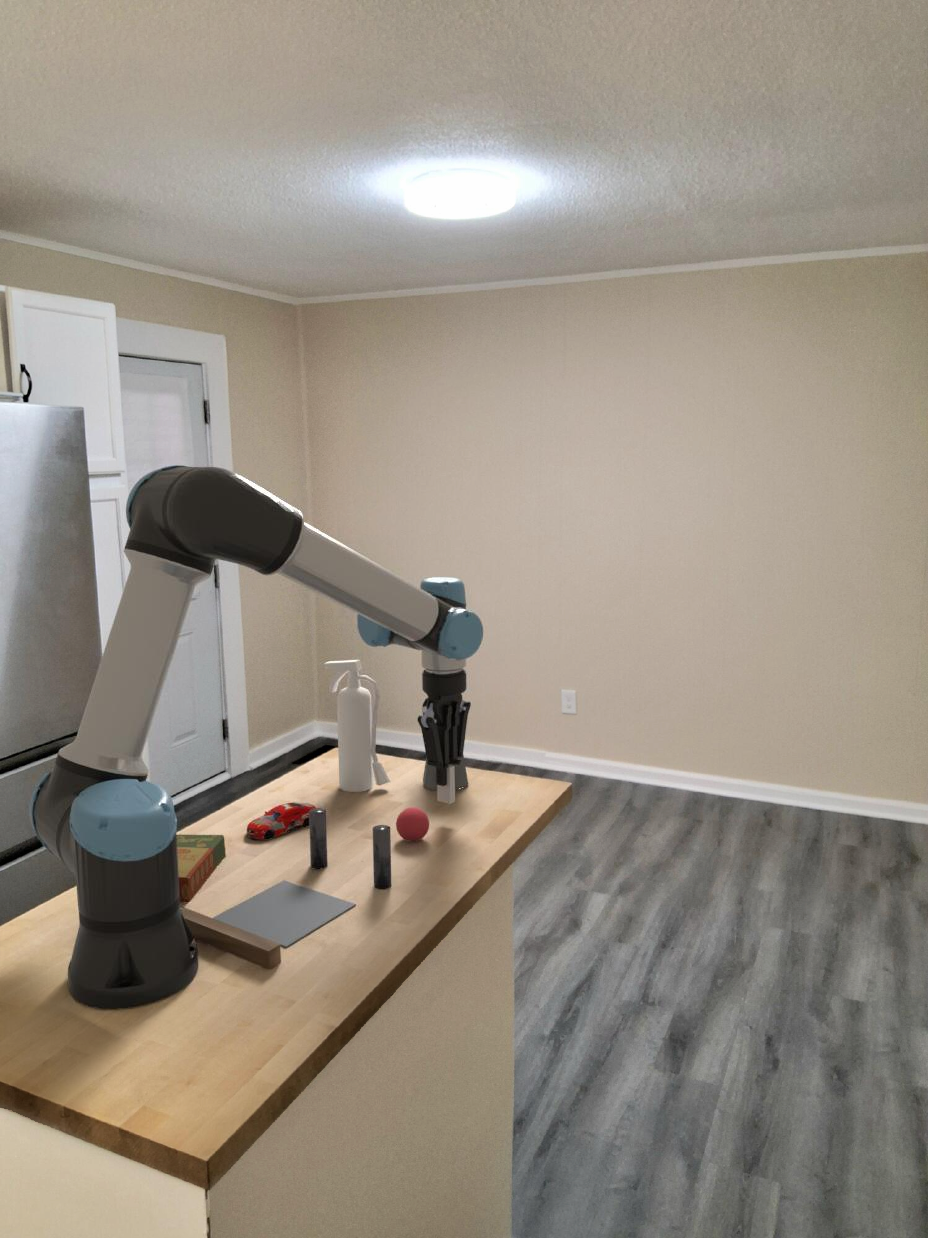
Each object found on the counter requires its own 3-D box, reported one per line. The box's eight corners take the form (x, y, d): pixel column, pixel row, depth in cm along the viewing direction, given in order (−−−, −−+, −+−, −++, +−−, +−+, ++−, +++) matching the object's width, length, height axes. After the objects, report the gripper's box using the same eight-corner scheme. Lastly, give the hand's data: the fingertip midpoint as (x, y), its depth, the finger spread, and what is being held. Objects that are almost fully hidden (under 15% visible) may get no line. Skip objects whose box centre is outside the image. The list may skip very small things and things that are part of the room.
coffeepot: (483, 789, 180) (483, 698, 177) (439, 798, 176) (438, 704, 173) (445, 767, 193) (445, 681, 190) (404, 774, 189) (402, 687, 186)
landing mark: (286, 948, 122) (286, 946, 122) (212, 919, 130) (212, 918, 130) (355, 905, 134) (355, 904, 134) (284, 881, 142) (284, 880, 141)
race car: (257, 846, 156) (256, 823, 155) (240, 836, 159) (239, 814, 159) (323, 824, 164) (322, 802, 164) (306, 815, 168) (305, 794, 168)
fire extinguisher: (381, 796, 176) (375, 664, 173) (324, 790, 181) (318, 662, 177) (396, 785, 183) (391, 658, 179) (341, 780, 187) (335, 655, 184)
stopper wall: (269, 969, 117) (268, 951, 117) (173, 930, 127) (172, 913, 127) (280, 962, 119) (280, 944, 118) (185, 924, 129) (184, 907, 128)
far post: (319, 870, 145) (318, 815, 144) (307, 867, 147) (305, 812, 145) (331, 864, 147) (329, 810, 146) (318, 861, 149) (316, 806, 147)
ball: (416, 849, 153) (415, 817, 152) (389, 842, 156) (389, 810, 155) (435, 838, 157) (435, 806, 156) (409, 831, 160) (409, 800, 159)
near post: (384, 891, 138) (382, 833, 137) (370, 886, 140) (369, 829, 138) (395, 884, 140) (393, 827, 139) (381, 880, 142) (380, 823, 140)
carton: (134, 903, 136) (132, 875, 135) (176, 857, 152) (174, 832, 151) (191, 904, 135) (189, 876, 135) (226, 858, 151) (225, 832, 150)
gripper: (440, 679, 152) (442, 817, 157) (483, 664, 163) (484, 793, 167) (403, 674, 156) (406, 808, 161) (447, 659, 167) (449, 785, 171)
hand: (446, 800), depth 164 cm, fingers closed
